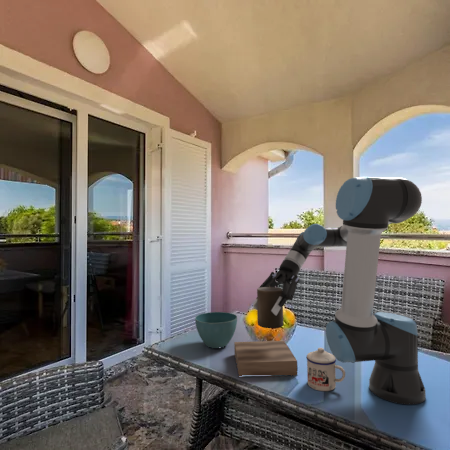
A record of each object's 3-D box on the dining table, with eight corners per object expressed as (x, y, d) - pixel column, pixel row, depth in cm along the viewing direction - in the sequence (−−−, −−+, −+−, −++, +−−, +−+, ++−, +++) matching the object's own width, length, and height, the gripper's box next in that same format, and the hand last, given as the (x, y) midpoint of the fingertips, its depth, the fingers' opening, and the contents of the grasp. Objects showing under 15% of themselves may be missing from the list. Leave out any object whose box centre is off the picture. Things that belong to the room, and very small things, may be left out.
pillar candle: (276, 330, 117) (276, 288, 117) (252, 326, 122) (252, 286, 122) (287, 323, 125) (286, 284, 125) (264, 320, 130) (263, 282, 131)
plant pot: (186, 348, 137) (186, 319, 137) (209, 336, 153) (209, 309, 153) (224, 356, 128) (224, 325, 128) (244, 342, 144) (244, 314, 144)
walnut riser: (297, 375, 111) (297, 360, 111) (238, 377, 110) (238, 362, 110) (284, 353, 131) (283, 340, 131) (234, 354, 130) (234, 342, 130)
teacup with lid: (302, 387, 103) (301, 349, 103) (312, 376, 110) (312, 341, 110) (341, 397, 96) (340, 358, 96) (349, 385, 103) (348, 348, 104)
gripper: (319, 273, 124) (291, 322, 114) (277, 268, 142) (250, 310, 132) (309, 260, 121) (280, 310, 111) (267, 256, 139) (239, 299, 129)
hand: (264, 310), depth 122 cm, fingers closed on pillar candle, 9 cm apart
